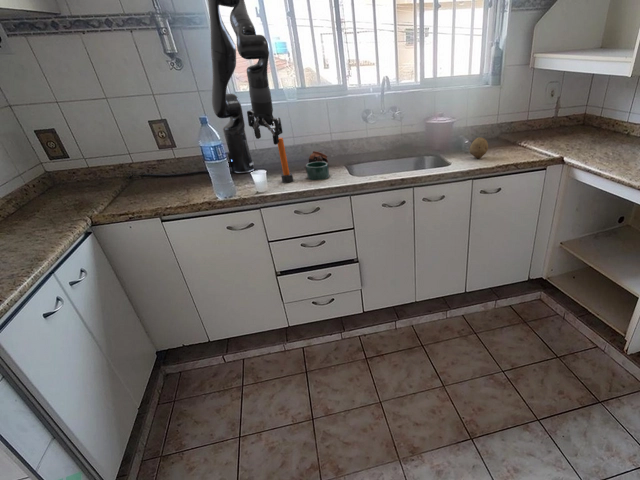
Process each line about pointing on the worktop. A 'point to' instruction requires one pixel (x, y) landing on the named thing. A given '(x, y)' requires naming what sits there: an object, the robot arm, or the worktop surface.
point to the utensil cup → (317, 170)
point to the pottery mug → (317, 157)
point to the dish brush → (284, 163)
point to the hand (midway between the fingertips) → (267, 141)
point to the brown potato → (478, 147)
